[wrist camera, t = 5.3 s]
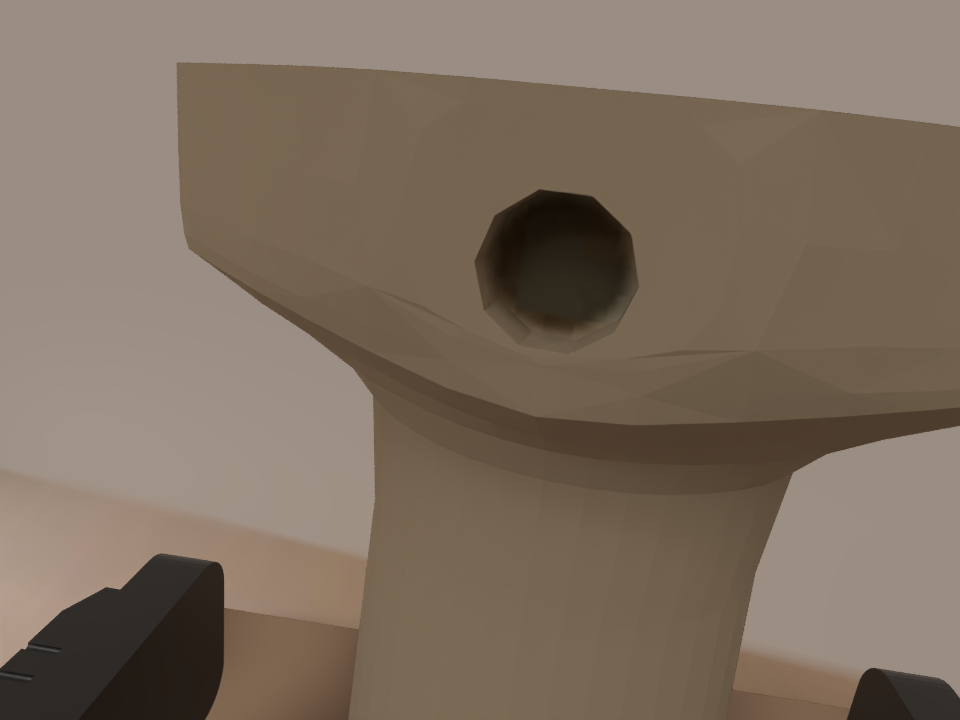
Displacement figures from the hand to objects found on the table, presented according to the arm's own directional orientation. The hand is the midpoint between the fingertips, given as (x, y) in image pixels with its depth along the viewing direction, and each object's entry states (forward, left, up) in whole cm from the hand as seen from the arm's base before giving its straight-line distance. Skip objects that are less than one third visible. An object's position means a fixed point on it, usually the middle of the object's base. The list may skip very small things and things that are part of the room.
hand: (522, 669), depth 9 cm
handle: (0, -2, -9) cm, 9 cm away
